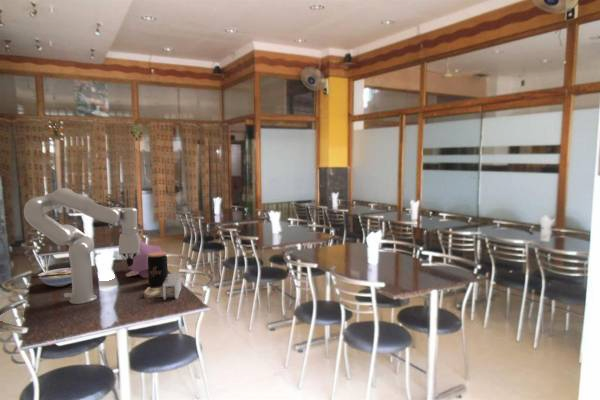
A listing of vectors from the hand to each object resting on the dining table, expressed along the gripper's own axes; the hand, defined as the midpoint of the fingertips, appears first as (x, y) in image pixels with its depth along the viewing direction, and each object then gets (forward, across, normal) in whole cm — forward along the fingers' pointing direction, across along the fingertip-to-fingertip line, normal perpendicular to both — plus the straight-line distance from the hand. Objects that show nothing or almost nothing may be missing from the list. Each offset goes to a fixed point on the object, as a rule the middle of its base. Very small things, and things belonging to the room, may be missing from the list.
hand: (130, 265), depth 222 cm
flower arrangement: (+17, -3, +46) cm, 49 cm away
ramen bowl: (+18, -45, +30) cm, 57 cm away
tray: (+16, +16, 0) cm, 22 cm away
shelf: (+15, +22, 0) cm, 27 cm away
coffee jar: (+16, +11, +20) cm, 28 cm away
